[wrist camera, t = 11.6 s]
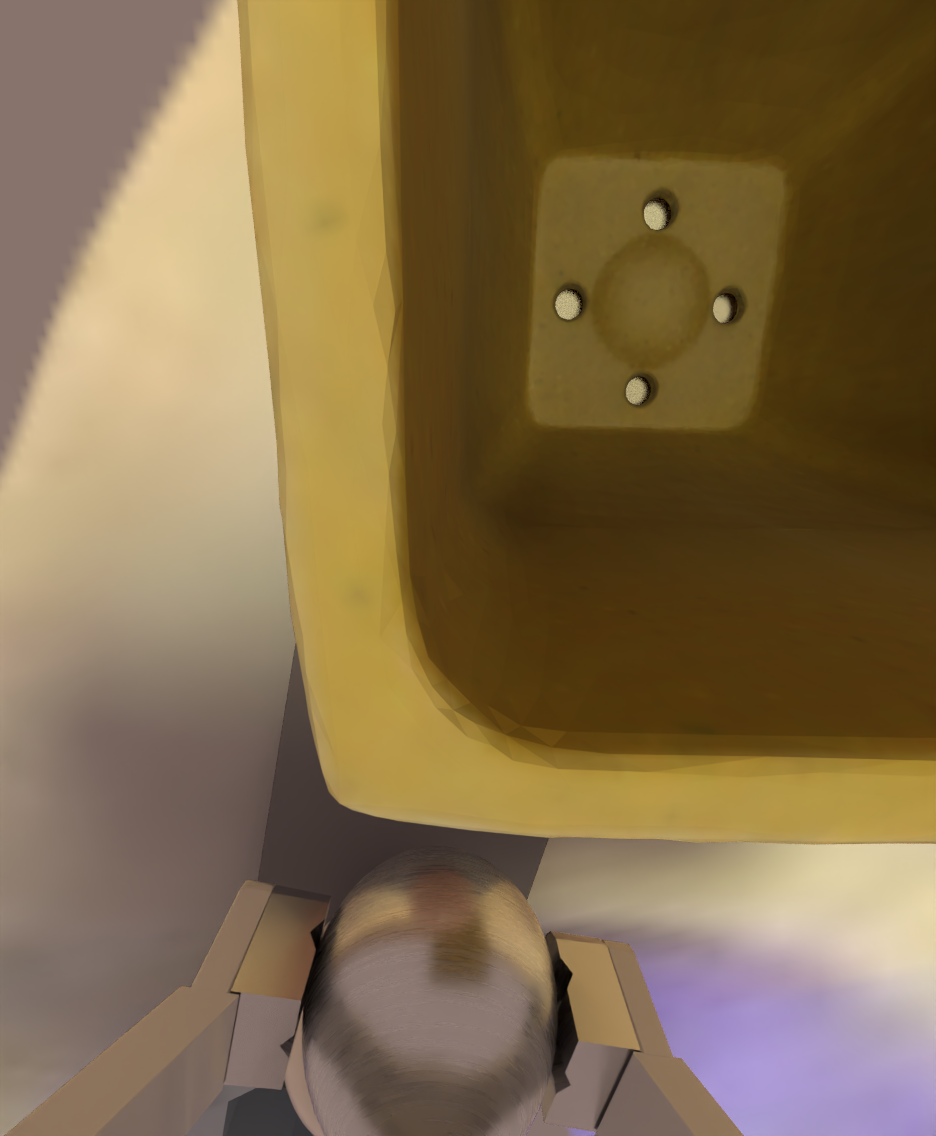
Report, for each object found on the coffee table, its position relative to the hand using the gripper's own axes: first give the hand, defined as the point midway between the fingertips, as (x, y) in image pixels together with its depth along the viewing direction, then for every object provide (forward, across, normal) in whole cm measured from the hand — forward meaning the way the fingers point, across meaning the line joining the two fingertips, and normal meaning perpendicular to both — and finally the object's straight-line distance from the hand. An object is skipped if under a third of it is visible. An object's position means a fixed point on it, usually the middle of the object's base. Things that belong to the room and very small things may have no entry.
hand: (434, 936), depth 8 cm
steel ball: (+1, 0, 0) cm, 1 cm away
